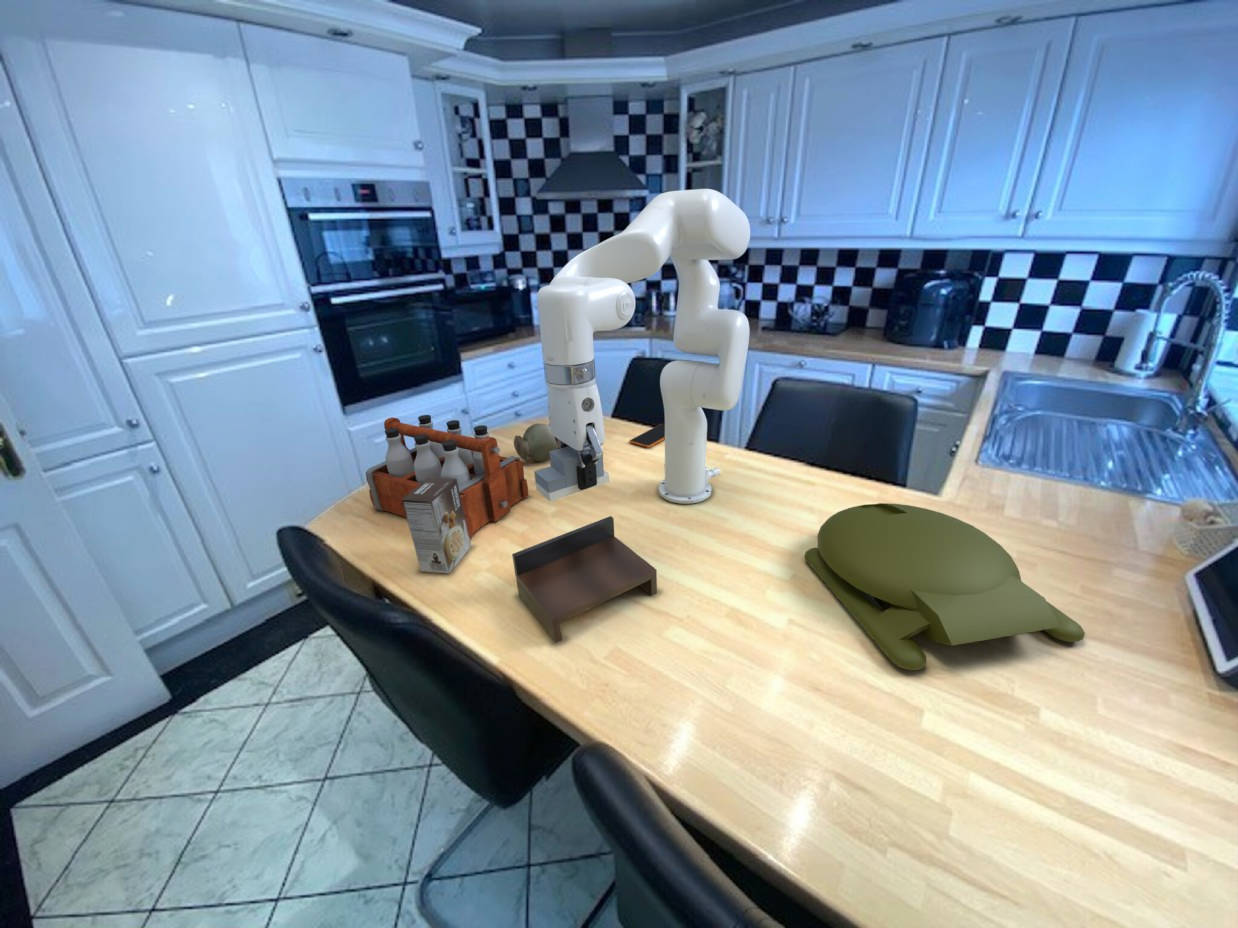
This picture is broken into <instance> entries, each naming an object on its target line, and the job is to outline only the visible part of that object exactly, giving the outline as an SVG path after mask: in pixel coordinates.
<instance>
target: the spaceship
mask: <svg viewBox="0 0 1238 928" xmlns="http://www.w3.org/2000/svg"><path fill="white" fill-rule="evenodd" d="M816 538H817V539H816V540H817V541H816V542H817V543H816V544H817V545H816V546H817V547H812V548H808V549H807V550H806V551H805V553H804V560H805V561H806V562H807V563H808V565H809V566H810V567H811V568H812V569H813V570H814V572H815V573H816V574H817V575H818V576H819V577H820V579H821V580H822V581H823V582H824V584H825V585H826V586H827V587H828V588H829V589H830V591H831V592H832V593H833V594H834V595H835V597H836V598H837V599H838V600H839V601H840V603H842V605H843V606H844V607H845V608H846V610H847V611H848V612H849V613H850V614H851V615H852V617H853V618H854V619H855V621H856V622H857V623H858V624H859V625H860V626H861V627H862V629H863V630H864V631H865V632H866V633H867V634H868V636H869V637H870V638H871V639H872V641H874V643H875V644H876V646H878V647H879V649H880V650H881V651H882V652H883V654H884V655H885V656H886V657H887V658H888V659H889V660H890V661H891V662H892V663H893V664H894V665H896V667H899V668H901V669H903V670H907V671H918V670H921V669H923V668H924V667H925V666H926V664H927V655H926V654H925V652H924V651H923V649H922V648H921V647H920V646H919V645H918V644H917V643H916V642H915V640H913V638H912V637H914V636H916V635H917V634H919V633H922V634H923V635H924V636H925V637H927V639H928V640H929V641H932V642H936V643H940V644H944V645H948V646H953V647H954V646H957V645H964V644H969V643H975V642H981V641H986V640H993V639H999V638H1004V637H1005V638H1006V637H1011V636H1016V635H1017V636H1018V635H1021V634H1022V635H1023V634H1027V633H1034V632H1039V631H1044V632H1046V633H1047V634H1048V635H1050V636H1051V637H1053V638H1054V639H1056V640H1060V641H1062V642H1068V643H1077V642H1080V641H1083V640H1084V638H1085V636H1086V632H1085V630H1084V629H1083V627H1082V625H1080V623H1078V622H1077V621H1075V619H1072V618H1071V617H1070V616H1068V615H1067V614H1066V613H1064V612H1062V611H1061V610H1059V609H1058V608H1057V607H1056V606H1054V605H1053V604H1052V603H1050V602H1049V601H1047V600H1046V598H1045V597H1044V596H1043V595H1042V594H1040V593H1039V592H1037V591H1036V590H1035V589H1033V588H1032V587H1030V586H1029V585H1028V584H1026V583H1024V582H1023V580H1022V578H1021V573H1020V570H1019V567H1018V566H1017V564H1016V562H1015V560H1014V559H1013V557H1012V555H1010V553H1009V552H1008V551H1007V550H1006V549H1005V548H1004V547H1003V546H1002V545H1001V544H1000V543H998V542H997V541H996V540H995V539H994V538H992V537H991V536H989V535H988V534H987V533H986V532H984V531H982V530H980V529H979V528H977V527H975V526H974V525H972V524H970V523H967V522H965V521H963V520H961V519H960V518H956V517H955V516H951V515H948V514H945V513H943V512H939V511H937V510H932V509H930V508H925V507H920V506H915V505H909V504H907V505H906V504H902V503H888V502H887V503H886V502H885V503H883V502H882V503H881V502H879V503H867V504H861V505H856V506H852V507H847V508H845V509H843V510H839V511H837V512H836V513H834V514H832V515H831V516H829V517H828V519H826V521H824V522H823V524H822V525H820V527H819V530H818V533H817V537H816ZM875 598H876V599H878V600H881V601H883V602H886V603H889V604H891V605H892V606H891V607H889V608H887V609H884V608H883V606H881V604H879V602H877V600H876V599H875Z"/></svg>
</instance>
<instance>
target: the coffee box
mask: <svg viewBox="0 0 1238 928" xmlns="http://www.w3.org/2000/svg"><path fill="white" fill-rule="evenodd" d="M402 503H403V506H404V510H405V514H406V517H405V518H406V521H407V524H408V525H407V526H408V528H409V533H410V535H411V539H412V544H413V547H414V551H415V554H416V558H417V562H418V565H419V569H420V572H427V573H438V574H447V575H448V574H451V573H452V572H453V570H454V569H455V568H456V566H457V565H458V564H459V563H460V561H461V560H462V559H463V558H464V556H465V555H466V554H467V553H468V552H469V551H470V549H471V548H472V544H471V540H470V537H469V534H468V530H467V525H466V520H465V515H464V511H463V506H462V501H461V497H460V492H459V487H458V483H457V479H456V478H430V477H428V478H426V479H425V480H424V481H423V482H422V483H421V484H419V485H418V486H417V487H416V488H415V489H414V490H412V491H411V492H410V493H409V494H408V495H406V496H405V497H404V498H403V499H402Z"/></svg>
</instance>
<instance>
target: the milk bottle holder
mask: <svg viewBox="0 0 1238 928" xmlns="http://www.w3.org/2000/svg"><path fill="white" fill-rule="evenodd" d="M417 419H418V425H414V424H408V423H403V422H401V420H400V419H399V418H397V417H393V416H391V417H388V418H386V419H385V420H384V422H383V427H384V433H385V441H386V442H387V445H388V446H387V450H386V453H385V459H384V460H385V461H383V462H380V463H378V464H376V465H373V466H372V467H369V468H368V469H367V470H366V471H365V478H366V479H365V480H366V482H367V484H368V487H369V489H368V494H369V498H370V501H371V504H372V505H373V507H374V508H375V509H376V510H379V511H382V512H385V511H386V512H389V513H392V514H395V515H398V516H401V517H404V518H407V517H406V514H405V510H404V506H403V503H402V499H403V498H404V497H405V496H406V495H408V494H409V493H410V492H411V491H412V490H414V489H415V488H416V487H417V486H418V485H419V484H421V483H422V482H423V481H424V480H425V479H426V478H428V477H430V478H456V479H457V483H458V487H459V492H460V497H461V501H462V506H463V511H464V515H465V520H466V525H467V530H468V534H469V538H471V537H472V536H474V535H475V532H477V531H478V530H479V529H480V528H482V527H483V526H485V525H486V524H487V523H489V522H490V521H492V522H497V521H499V520H500V519H502V518H503V517H505V516H506V515H507V514H509V513H510V512H511V507H512V506H513V505H515V504H516V503H518V502H519V501H520V500H522V499H526V498H528V497H529V485H528V481H527V479H526V478H525V472H524V471H525V469H524V463H523V460H521V458H520V457H519V456H516V455H515V456H514V455H511V456H509V457H506V456H502V455H500V452H501V448H500V447H499V446H498V440H497V439H496V438H495V437H493V436H490V433H489V431H488V426H487V425H481V424H480V425H476V426H474V427H473V431H474V435H473V437H472V436H469V435H468V436H467V435H463V434H462V426H461V425H460V420H458V419H453V420H448V421H447V422H446V426H447V428H446V431H443V430H438V429H434V422H433V420H432V415H430V414H423V415H419V416H418V417H417ZM405 437H408V438H413V440H414V447H413V448H411V449H409V448H408V447H407V443H406V439H405Z"/></svg>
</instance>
